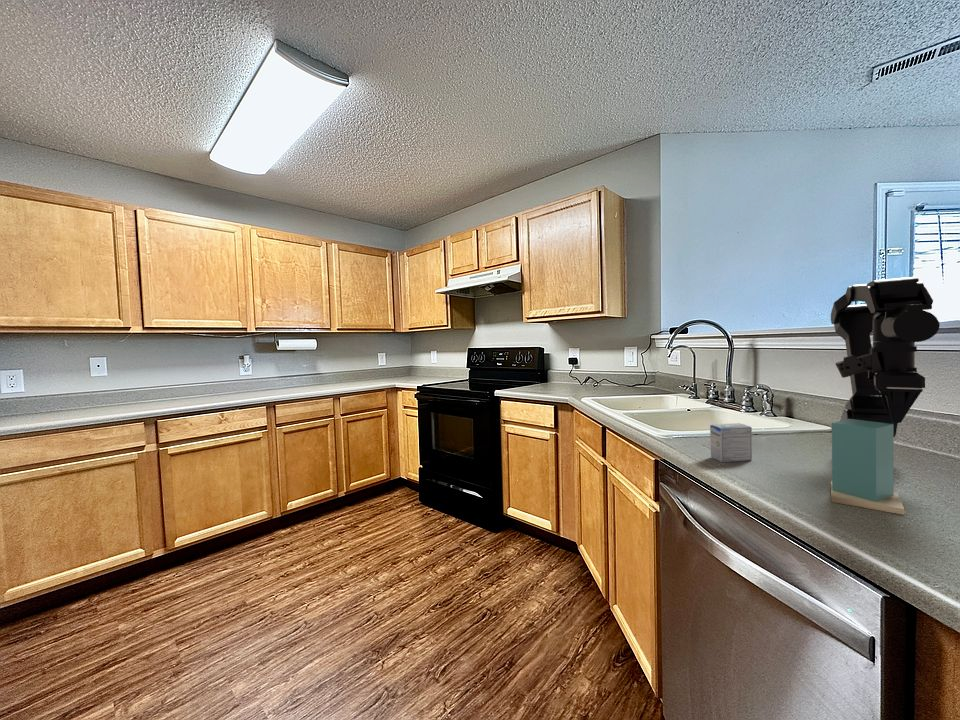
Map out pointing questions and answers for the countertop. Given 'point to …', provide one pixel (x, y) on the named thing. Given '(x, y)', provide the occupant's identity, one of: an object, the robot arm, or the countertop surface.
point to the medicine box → (731, 442)
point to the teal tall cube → (863, 459)
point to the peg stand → (870, 502)
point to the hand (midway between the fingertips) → (893, 418)
